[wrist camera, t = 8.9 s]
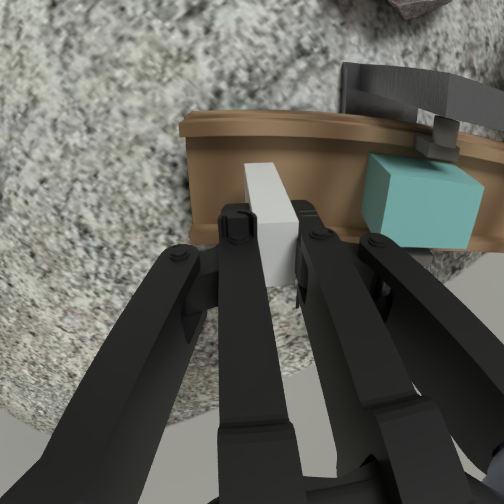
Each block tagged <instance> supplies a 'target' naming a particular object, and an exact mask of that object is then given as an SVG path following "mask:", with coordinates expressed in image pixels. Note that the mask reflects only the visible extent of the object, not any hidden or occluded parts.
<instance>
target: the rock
mask: <svg viewBox="0 0 504 504" xmlns="http://www.w3.org/2000/svg"><path fill="white" fill-rule="evenodd" d="M387 1H388V2H389V3H390V5H391V6H392V7H393V8H394V9H395V10H396V11H397V12H398V13H399V14H400V15H401V16H402V17H403V18H404V19H405V20H408V19H410V18H412V17H420V16H422V15H423V14H424V13H427V12H430V11H432V10H434V9H436V8H438V7H440V6H442V5H445V4H447V3H449V2H451V1H452V0H387Z"/></svg>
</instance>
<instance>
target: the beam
mask: <svg viewBox="0 0 504 504" xmlns="http://www.w3.org/2000/svg"><path fill="white" fill-rule="evenodd" d="M459 123H460V122H458V121H456V120H453V119H450V118H445V117H442V116H436V115H435V117H434V125H433V126H429V125H424V124H418V123H412V122H406V121H399V120H392V119H385V118H377V117H369V116H360V115H350V114H339V113H327V112H312V111H291V110H213V111H192V112H190V113H189V114H187V115H186V116H184V120H183V121H182V122H180V123H179V134H180V137H185V138H186V152H187V165H188V176H189V188H190V198H191V209H192V219H193V225H192V227H191V230H190V232H189V237H190V244H213V245H218V243H219V233H218V221H217V219H218V217H219V215H221V209H222V208H223V207H224V206H225V205H226V204H235V203H245V175H244V164H246V163H274V165H275V168H276V170H277V172H278V174H279V177H280V179H281V181H282V183H283V186H284V188H285V190H286V193H287V195H288V197H289V200H307V201H308V202H310V203H311V204H313V206H314V208H315V209H316V211H317V213H318V216H319V217H320V218H321V220H322V222H323V224H324V226H325V227H327V228H330V229H332V230H334V231H335V232H336V233H337V234H338V236H339V238H340V240H341V241H345V242H351V243H358V244H359V240H360V237H361V236H362V235H364V234H366V233H371V232H370V230H369V228H368V226H367V224H366V222H365V220H364V218H363V216H362V214H361V208H362V202H363V195H364V188H365V180H366V173H367V165H368V156H369V152H370V153H380V154H389V155H398V156H406V157H414V158H421V159H428V160H435V161H442V162H448V163H453V164H454V165H456V166H457V167H458V168H460V169H461V170H463V171H464V172H465V173H467V174H468V175H470V176H471V177H472V178H474V179H475V180H476V181H478V182H479V183H480V184H482V185H483V186H484V191H483V195H482V199H481V203H480V206H479V210H478V213H477V217H476V220H475V224H474V227H473V230H472V233H471V236H470V239H469V242H468V245H467V248H466V249H450V248H423V247H401V248H402V249H404V250H405V251H406V252H407V253H408V254H409V255H411V256H412V257H413V258H414V259H415V260H416V261H417V262H419V263H420V264H421V265H422V266H423V267H424V268H425V269H426V267H430V266H431V263H432V260H433V257H434V256H433V254H432V253H431V252H430V250H439V251H469V252H500V253H504V143H503V142H500V141H496V140H492V139H489V138H485V137H481V136H477V135H472V134H468V133H464V132H459V131H458V130H459Z"/></svg>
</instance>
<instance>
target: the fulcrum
mask: <svg viewBox="0 0 504 504" xmlns="http://www.w3.org/2000/svg"><path fill="white" fill-rule="evenodd" d="M418 108H420V109H423V110H426V111H429V112H432V113H434V114H437V115H440V116H443V117H445V118H450V119H455V120H459V121H464V122H468V123H472V124H476V125H480V126H484V127H488V128H492V129H496V130H499V131H503V132H504V91H501V90H499V89H496V88H493V87H491V86H488V85H485V84H482V83H479V82H476V81H473V80H470V79H467V78H464V77H461V76H457V75H454V74H451V73H446V72H439V71H432V70H425V69H417V68H408V67H398V66H387V65H372V64H358V63H350V62H343V74H342V98H341V114H350V115H360V116H369V117H377V118H385V119H392V120H399V121H406V122H412V123H416V121H417V112H418ZM384 290H385V291H386V292H387V293H388V294H389V293H390V287H389V286H388V285H387V284H385V287H384Z"/></svg>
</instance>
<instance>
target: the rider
mask: <svg viewBox="0 0 504 504" xmlns="http://www.w3.org/2000/svg"><path fill="white" fill-rule="evenodd" d="M483 191H484V186H483V185H482V184H480V183H479V182H478V181H476V180H475V179H474V178H472V177H471V176H470V175H468V174H467V173H465V172H464V171H463V170H461V169H460V168H458V167H457V166H456V165H454V164H453V163H448V162H442V161H435V160H428V159H421V158H414V157H406V156H398V155H389V154H380V153H370V152H369V156H368V165H367V173H366V180H365V188H364V195H363V202H362V208H361V214H362V216H363V218H364V220H365V222H366V224H367V226H368V228H369V230H370V232H371V233H380V234H382V235H385V236H387V237H389V238H390V239H392V240H393V241H394V242H395V243H397V244H398V245H399V246H400V247H423V248H450V249H466V248H467V245H468V242H469V239H470V236H471V233H472V230H473V227H474V224H475V220H476V217H477V213H478V210H479V206H480V203H481V199H482V195H483Z"/></svg>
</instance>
